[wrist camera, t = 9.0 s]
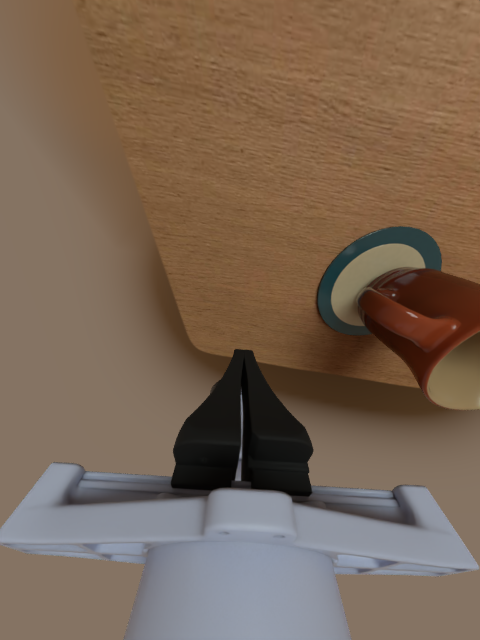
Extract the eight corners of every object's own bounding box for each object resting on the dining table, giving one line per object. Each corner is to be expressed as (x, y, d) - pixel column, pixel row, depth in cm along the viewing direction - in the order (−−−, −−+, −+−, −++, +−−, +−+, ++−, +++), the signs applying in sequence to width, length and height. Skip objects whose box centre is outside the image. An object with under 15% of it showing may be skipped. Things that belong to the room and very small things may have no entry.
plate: (375, 346, 23) (377, 347, 23) (296, 313, 21) (297, 315, 21) (467, 258, 17) (471, 259, 17) (371, 201, 15) (374, 201, 15)
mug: (455, 273, 18) (664, 331, 9) (390, 339, 22) (487, 421, 13) (356, 228, 16) (494, 243, 7) (305, 308, 20) (353, 381, 11)
